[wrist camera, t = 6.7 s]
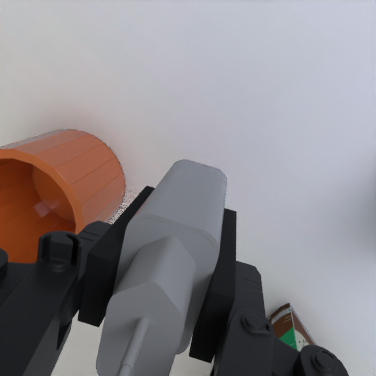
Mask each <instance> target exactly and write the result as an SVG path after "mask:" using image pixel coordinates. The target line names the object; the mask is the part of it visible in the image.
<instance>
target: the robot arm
mask: <svg viewBox="0 0 376 376" xmlns="http://www.w3.org/2000/svg"><path fill="white" fill-rule="evenodd" d="M154 189H155V188H153V187H150V186H146V187H145V188H144V189H143V190H142V191H141V193H140V194H139V195H138V196H137V197H136V198H135V200H134V201H133V202H132V203H131V204H130V205H129V206H128V208H127V209H126V210H125V211H124V212H123V213H122V214H121V216H120V217H119V218H118V219H117V220H116V221H115V222H114V224H113V225H112V224H109V223H106V222H102V221H99V220H98V221H95V222H92V223H90V224H88V225H87V226H86V227H85V228H84V229H82V231H80V232H79V233H78V234H75V233H72V232H69V231H51V232H48V233H45V234H43V235H42V236H40V237H39V242H38V253H37V261H36V262H35V263H17V262H8V258H9V256H8V254H7V252H6V251H4V250H3V249H1V248H0V376H51V373H52V371H53V369H54V367H55V364H56V362H57V360H58V358H59V355H60V353H61V351H62V349H63V346H64V344H65V342H66V339H67V337H68V335H69V333H70V330H71V324H72V318H73V317H74V316H75V314H76V313H77V311H78V310H79V314H78V321H81V322H84V323H87V324H90V325H93V326H96V327H99V326H100V324H101V322H102V321H103V319H104V317H105V315H106V310H107V306H108V303H109V301H110V299H111V297H112V295H113V290H114V285H115V280H116V275H117V270H118V265H119V260H120V256H121V251H122V246H123V241H124V236H125V231H126V228H127V225H128V223H129V222H130V220H131V219H132V218H133V216H134V215H135V214H136V213H137V211H138V210H139V209H140V207H141V206H142V205H143V203H144V202H145V201H146V200H147V198H148V197H149V196H150V194H151V193H152V192H153V190H154ZM261 284H262V283H261V275H260V273H259V272H258V270H257V269H256V267H255V266H252V265H249V264H246V263H242V262H239V261H236V211H232V210H229V209H225V208H224V214H223V223H222V232H221V241H220V250H219V256H218V260H217V263H216V266H215V269H214V272H213V274H212V277H211V280H210V283H209V286H208V289H207V292H206V295H205V298H204V301H203V304H202V307H201V310H200V313H199V316H198V319H197V322H196V325H195V328H194V331H193V336H192V341H191V347H190V352H189V357H193V358H196V359H199V360H202V361H205V362H208V363H211V362H212V359H213V357H214V354H215V357H214V365H213V368H212V371H211V373H210V376H349V375H348V373H347V370H346V369H345V367H344V366H343V364H342V362H341V361H340V360H339V359H338V358H337V357H336V356H335V355H334V354H332V353H331V352H329V351H328V350H326V349H324V348H322V347H319V346H317V345H306V346H304V347H302V349H301V351H298V350H296V349H295V348H293V347H291V346H289V345H288V344H286V343H284V342H283V341H281V340H280V339H279V338H278V337H276V336H275V334H274V328H273V326H272V324H271V323H270V321H269V320H268V319H267V318H266V317H265V309H264V300H263V293H262V285H261Z"/></svg>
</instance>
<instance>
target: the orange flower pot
mask: <svg viewBox="0 0 376 376" xmlns="http://www.w3.org/2000/svg"><path fill="white" fill-rule="evenodd" d="M124 193H125V179H124V174H123V171H122V168H121V165H120V163H119V161H118V159H117V158H116V156H115V155H114V153H113V152H112V151H111V150H110V148H109V147H108V146H107V145H106V144H104V143H103V142H102V141H101V140H99V139H98V138H96V137H95V136H93V135H91V134H88V133H86V132H83V131H79V130H71V129H67V130H59V131H53V132H50V133H46V134H43V135H39V136H36V137H32V138H29V139H26V140H22V141H19V142H15V143H12V144H8V145H5V146H1V147H0V248H1V249H3V250H4V251H6V252H7V254H8V256H9V258H8V262H17V263H35V262H36V261H37V253H38V242H39V237H40V236H42V235H43V234H45V233H48V232H51V231H69V232H72V233H75V234H78V233H79V232H80V231H82V229H84V228H85V227H86V226H87V225H88V224H90V223H92V222H95V221H98V220H99V221H102V222H106V223H108V222H109V221H110V219H111V218H112V217H113V216H114V215H115V213H116V212H117V211H118V209H119V207H120V206H121V204H122V201H123V198H124Z"/></svg>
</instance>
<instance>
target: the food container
mask: <svg viewBox="0 0 376 376" xmlns="http://www.w3.org/2000/svg"><path fill="white" fill-rule="evenodd" d="M269 321H270V323H271V324H272V326H273V328H274V334H275V336H276V337H278V338H279V339H280V340H281V341H283V342H284V343H286V344H288V345H289V346H291V347H293V348H295V349H296V350H298V351H301V349H302V347H304V346H306V345H316V344H315V342H314V340H313V339H312V337H311V336H310V334H309V333H308V331H307V330H306V328H305V326H304V325H303V323H302V322H301V320H300V319H299V317H298V316H297V314H296V312H295V311H294V309H293V308H292V306H291V305H290V303H289V304H287V305H284V306H282V307H281V308H279V309H278V310H277V311H276V312H275V313H274V314H273V315H272V316H271V318H270V320H269Z"/></svg>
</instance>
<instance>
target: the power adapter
mask: <svg viewBox="0 0 376 376" xmlns="http://www.w3.org/2000/svg"><path fill="white" fill-rule="evenodd" d="M226 187H227V178H226V175H225V174H224V173H223V172H222V171H221V170H219V169H217V168H214V167H211V166H207V165H204V164H200V163H197V162H193V161H190V160H179V161H177V162H175V163H174V164H173V166H172V167H171V168H170V170H169V171H168V172H167V174H166V175H165V176H164V177H163V179H162V180H161V181H160V183H159V184H158V185H157V187H156V188H155V189H154V190H153V192H152V193H151V194H150V196H149V197H148V198H147V200H146V201H145V202H144V203H143V205H142V206H141V207H140V209H139V210H138V211H137V213H136V214H135V215H134V216H133V218H132V219H131V220H130V222H129V223H128V225H127V228H126V231H125V236H124V241H123V246H122V251H121V256H120V260H119V265H118V270H117V275H116V280H115V285H114V290H113V295H112V297H111V299H110V301H109V303H108V306H107V310H106V315H105V320H104V325H103V330H102V335H101V340H100V345H99V350H98V355H97V360H96V369H97V373H98V375H99V376H169V373H170V370H171V367H172V364H173V361H174V358H175V355H177V354H180V353H182V352H184V351H185V350H186V349H187V347H188V345H189V343H190V340H191V337H192V334H193V331H194V328H195V325H196V322H197V319H198V316H199V313H200V310H201V307H202V304H203V301H204V298H205V295H206V292H207V289H208V286H209V283H210V280H211V277H212V274H213V272H214V269H215V266H216V263H217V260H218V256H219V250H220V241H221V232H222V223H223V214H224V205H225V196H226Z"/></svg>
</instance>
